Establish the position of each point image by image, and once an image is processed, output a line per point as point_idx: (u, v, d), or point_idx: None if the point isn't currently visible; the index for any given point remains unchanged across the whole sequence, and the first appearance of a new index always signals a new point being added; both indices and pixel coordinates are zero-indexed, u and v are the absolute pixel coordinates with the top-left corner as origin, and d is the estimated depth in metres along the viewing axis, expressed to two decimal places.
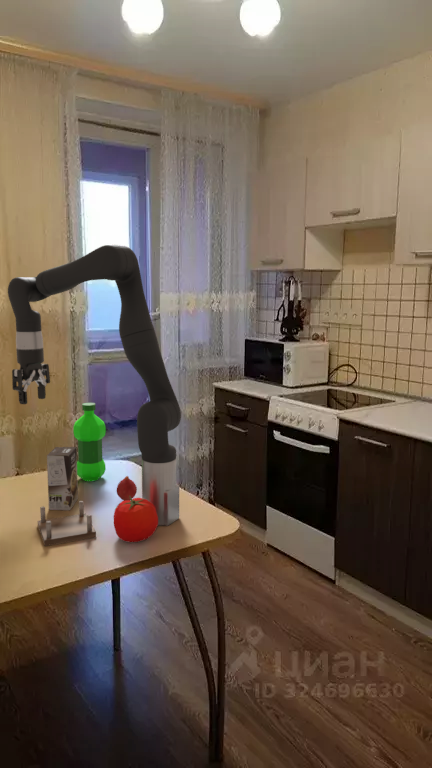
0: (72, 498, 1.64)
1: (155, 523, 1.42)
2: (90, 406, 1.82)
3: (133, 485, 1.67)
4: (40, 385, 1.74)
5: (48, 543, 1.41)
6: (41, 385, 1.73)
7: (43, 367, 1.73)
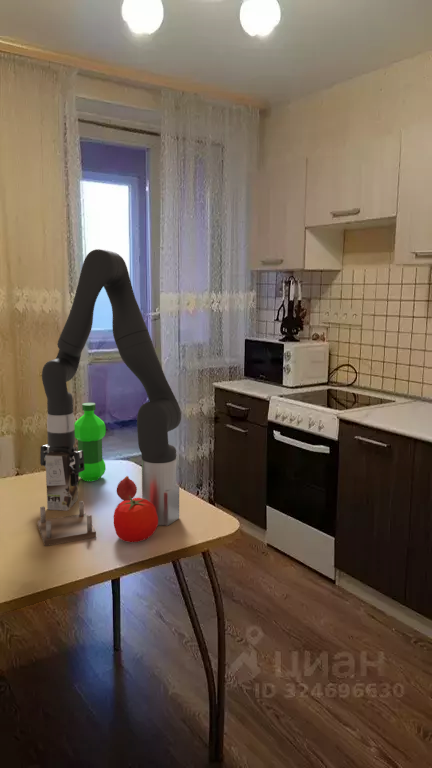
0: (71, 498, 1.64)
1: (155, 523, 1.42)
2: (90, 406, 1.82)
3: (133, 485, 1.67)
4: None
5: (48, 543, 1.41)
6: None
7: None
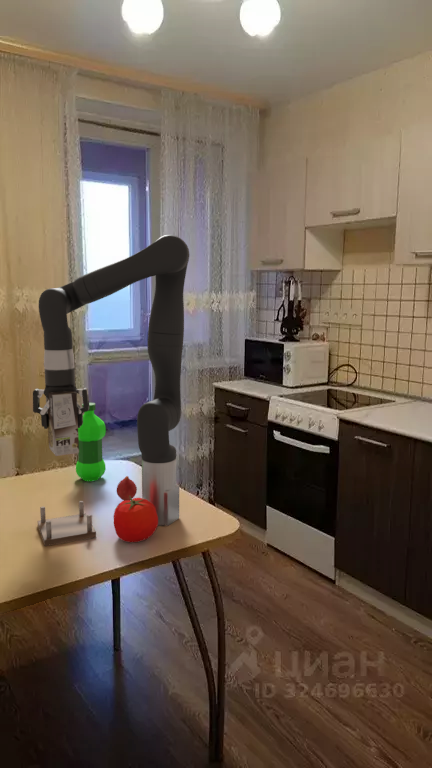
0: None
1: (155, 523, 1.42)
2: (90, 406, 1.82)
3: (133, 485, 1.67)
4: (46, 413, 1.50)
5: (48, 543, 1.41)
6: (46, 412, 1.50)
7: None
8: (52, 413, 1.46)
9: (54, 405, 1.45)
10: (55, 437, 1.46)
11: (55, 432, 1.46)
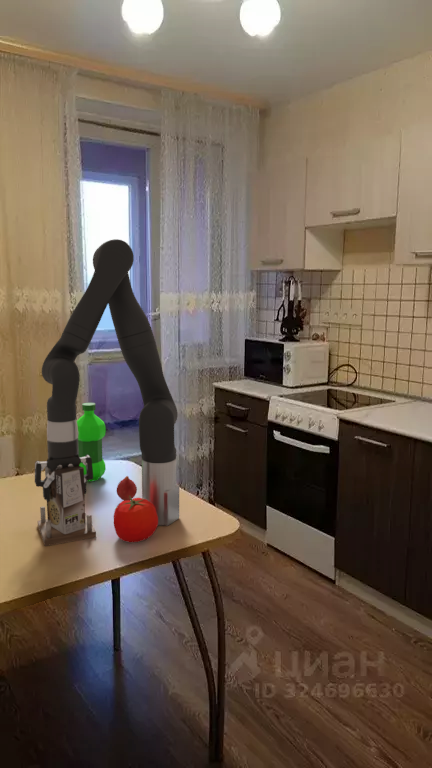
0: None
1: (155, 523, 1.42)
2: (90, 406, 1.82)
3: (133, 485, 1.67)
4: None
5: (48, 543, 1.41)
6: None
7: None
8: (60, 491, 1.42)
9: (64, 483, 1.41)
10: (64, 516, 1.42)
11: (64, 511, 1.42)
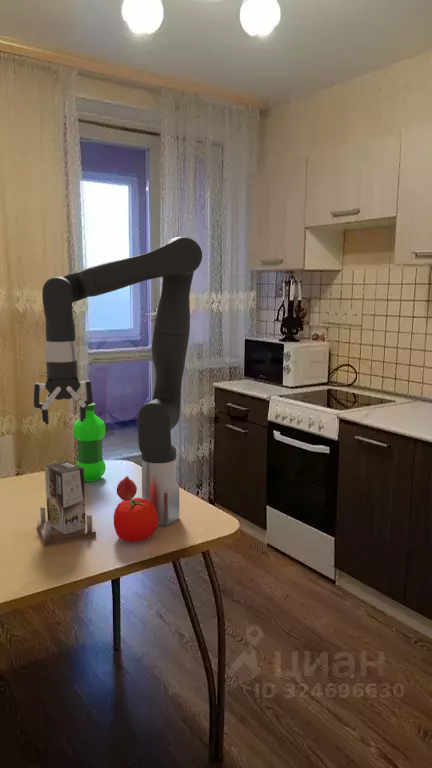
0: None
1: (155, 523, 1.42)
2: (90, 406, 1.82)
3: (133, 485, 1.67)
4: None
5: (48, 543, 1.41)
6: None
7: None
8: (60, 491, 1.42)
9: (64, 483, 1.41)
10: (64, 516, 1.42)
11: (64, 511, 1.42)
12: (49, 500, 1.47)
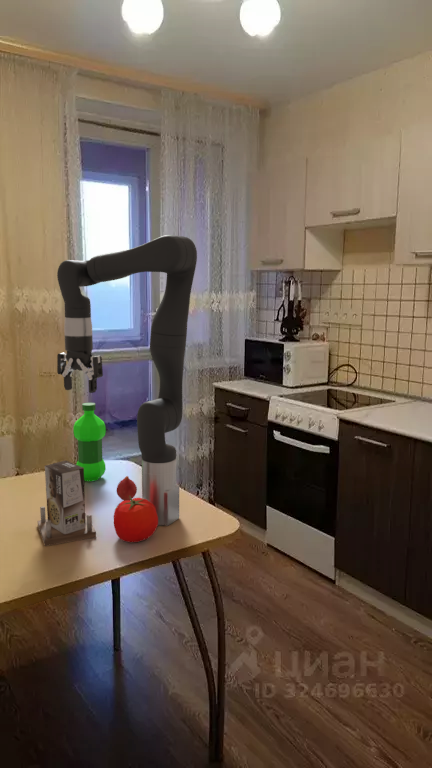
0: None
1: (155, 523, 1.42)
2: (90, 406, 1.82)
3: (133, 485, 1.67)
4: (68, 375, 1.63)
5: (48, 543, 1.41)
6: (69, 375, 1.64)
7: None
8: (60, 491, 1.42)
9: (64, 483, 1.41)
10: (64, 516, 1.42)
11: (64, 511, 1.42)
12: (49, 500, 1.47)
